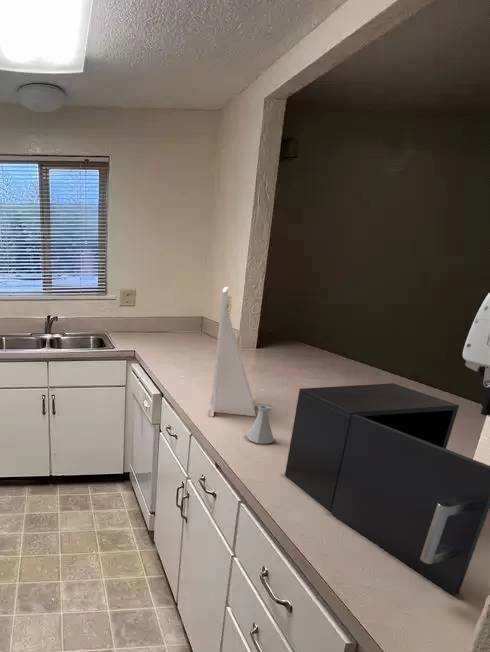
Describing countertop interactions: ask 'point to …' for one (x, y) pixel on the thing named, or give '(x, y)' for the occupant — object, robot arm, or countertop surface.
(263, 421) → the flask
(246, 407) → the white bracket plate
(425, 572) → the fridge door
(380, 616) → the countertop surface
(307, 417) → the mini fridge
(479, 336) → the robot arm
